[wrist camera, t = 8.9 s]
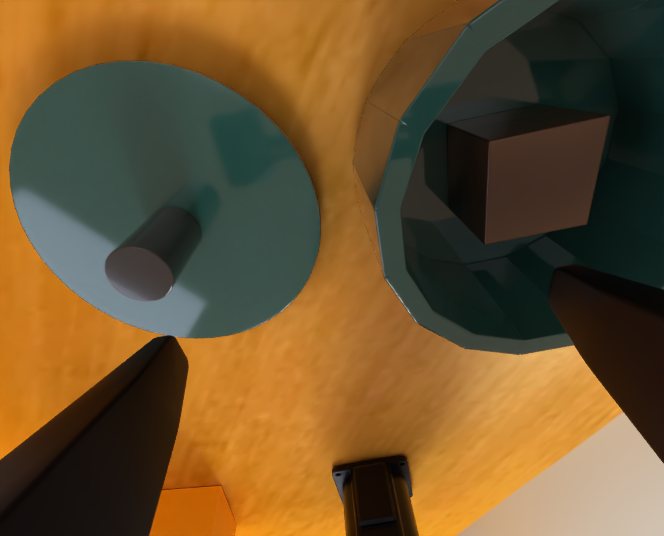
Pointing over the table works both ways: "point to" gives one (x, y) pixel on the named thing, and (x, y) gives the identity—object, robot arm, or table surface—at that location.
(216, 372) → the table surface
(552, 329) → the tin
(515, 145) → the block
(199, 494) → the orange juice
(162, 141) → the lid
